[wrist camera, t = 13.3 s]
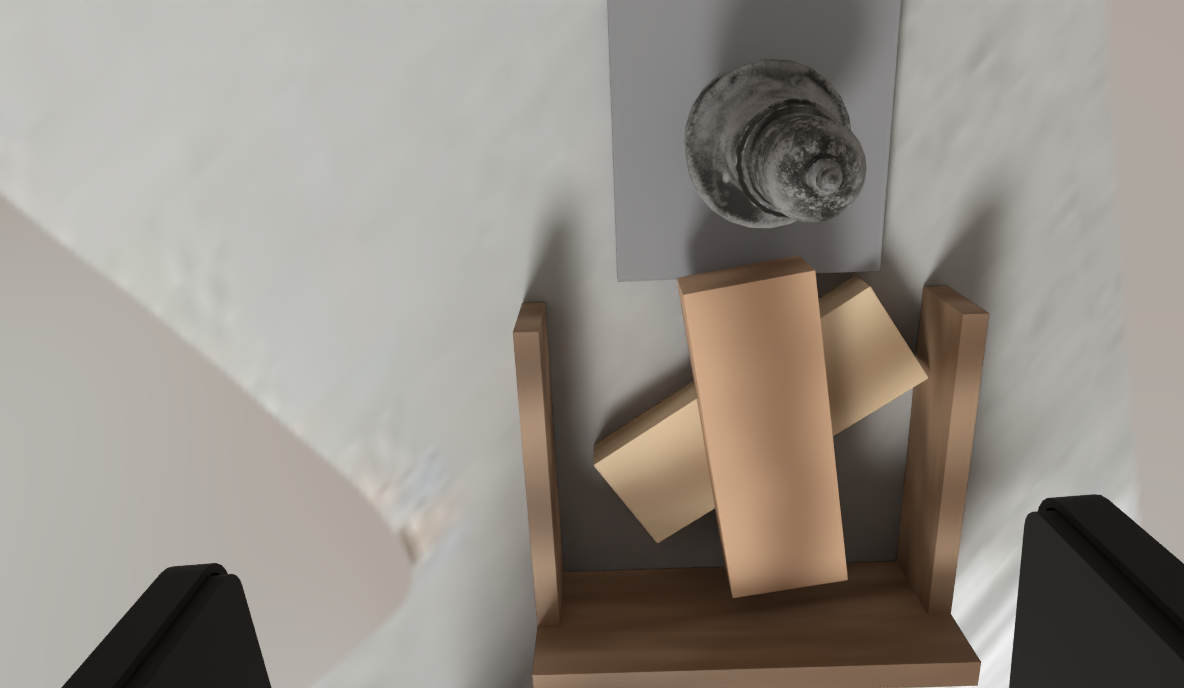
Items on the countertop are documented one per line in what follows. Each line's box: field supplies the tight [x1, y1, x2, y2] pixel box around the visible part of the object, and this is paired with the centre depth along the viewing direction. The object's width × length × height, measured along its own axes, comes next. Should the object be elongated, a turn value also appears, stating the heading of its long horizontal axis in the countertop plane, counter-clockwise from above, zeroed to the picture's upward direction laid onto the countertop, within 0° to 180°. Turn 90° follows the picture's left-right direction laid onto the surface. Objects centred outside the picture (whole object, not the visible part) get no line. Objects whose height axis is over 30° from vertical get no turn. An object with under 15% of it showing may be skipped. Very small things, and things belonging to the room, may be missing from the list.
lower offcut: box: [594, 275, 928, 543], centre depth 36 cm, size 5×14×2 cm, turn 126°
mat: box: [607, 0, 901, 282], centre depth 32 cm, size 11×11×1 cm
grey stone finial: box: [684, 59, 867, 228], centre depth 26 cm, size 6×6×12 cm
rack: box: [513, 286, 989, 688], centre depth 34 cm, size 16×18×7 cm
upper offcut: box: [677, 255, 848, 598], centre depth 33 cm, size 5×14×2 cm, turn 11°
